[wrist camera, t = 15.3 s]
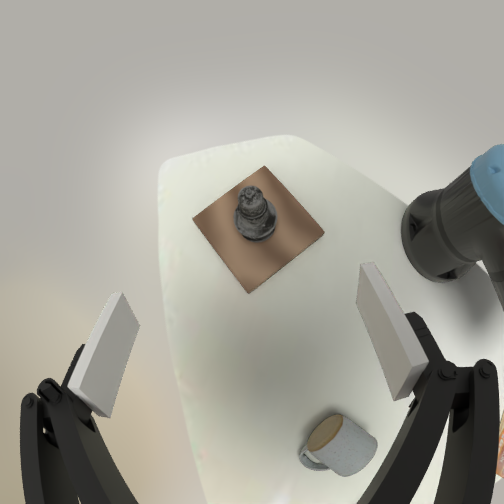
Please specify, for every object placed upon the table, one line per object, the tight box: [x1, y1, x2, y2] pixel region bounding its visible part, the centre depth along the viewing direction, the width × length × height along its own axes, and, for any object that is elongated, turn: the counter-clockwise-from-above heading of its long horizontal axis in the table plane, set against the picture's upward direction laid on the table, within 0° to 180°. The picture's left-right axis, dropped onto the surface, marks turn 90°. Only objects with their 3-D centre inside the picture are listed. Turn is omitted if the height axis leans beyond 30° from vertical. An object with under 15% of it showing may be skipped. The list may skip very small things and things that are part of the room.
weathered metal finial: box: [233, 185, 277, 243], centre depth 34 cm, size 6×6×12 cm
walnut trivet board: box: [193, 166, 324, 294], centre depth 41 cm, size 14×14×2 cm
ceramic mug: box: [299, 415, 377, 477], centre depth 30 cm, size 11×8×8 cm
